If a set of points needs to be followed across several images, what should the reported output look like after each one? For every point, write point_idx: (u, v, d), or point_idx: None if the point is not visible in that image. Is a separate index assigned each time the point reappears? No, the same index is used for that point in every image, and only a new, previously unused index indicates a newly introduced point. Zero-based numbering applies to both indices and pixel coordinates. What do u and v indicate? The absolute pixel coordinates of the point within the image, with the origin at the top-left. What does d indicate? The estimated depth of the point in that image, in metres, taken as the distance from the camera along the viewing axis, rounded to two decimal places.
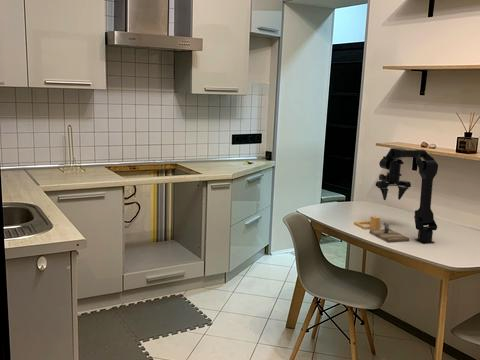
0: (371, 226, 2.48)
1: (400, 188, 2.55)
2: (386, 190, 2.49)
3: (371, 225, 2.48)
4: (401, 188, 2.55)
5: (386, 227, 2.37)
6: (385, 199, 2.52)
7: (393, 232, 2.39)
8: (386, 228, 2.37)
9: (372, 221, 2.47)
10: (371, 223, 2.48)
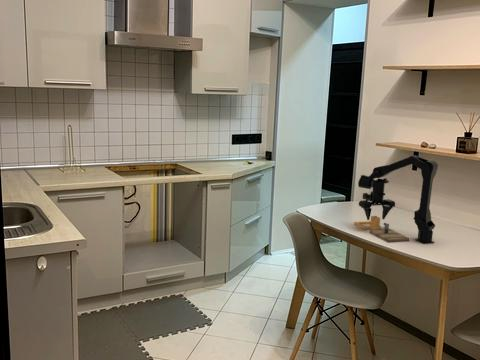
0: (371, 226, 2.48)
1: (384, 207, 2.47)
2: (369, 210, 2.41)
3: (371, 225, 2.48)
4: (385, 207, 2.47)
5: (386, 227, 2.37)
6: (368, 219, 2.44)
7: (393, 232, 2.39)
8: (386, 228, 2.37)
9: (372, 221, 2.47)
10: (371, 223, 2.48)
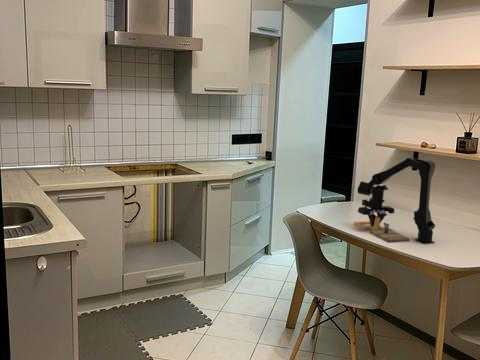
0: (371, 226, 2.48)
1: (379, 214, 2.47)
2: (373, 216, 2.43)
3: None
4: (379, 214, 2.46)
5: (386, 227, 2.37)
6: (372, 225, 2.46)
7: (393, 232, 2.39)
8: (386, 228, 2.37)
9: None
10: None
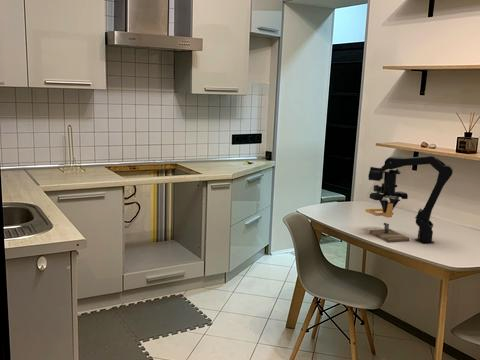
0: (383, 212, 2.37)
1: (391, 200, 2.37)
2: (386, 202, 2.33)
3: None
4: (392, 200, 2.36)
5: (386, 227, 2.37)
6: (385, 212, 2.36)
7: (393, 232, 2.39)
8: (386, 228, 2.37)
9: None
10: None
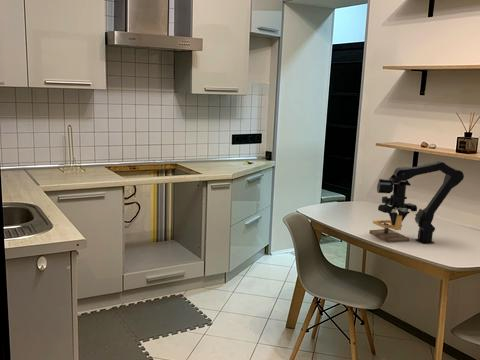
0: (392, 225, 2.31)
1: (400, 212, 2.30)
2: (395, 215, 2.26)
3: None
4: (401, 212, 2.30)
5: None
6: (394, 224, 2.29)
7: (393, 232, 2.39)
8: (386, 228, 2.37)
9: None
10: None
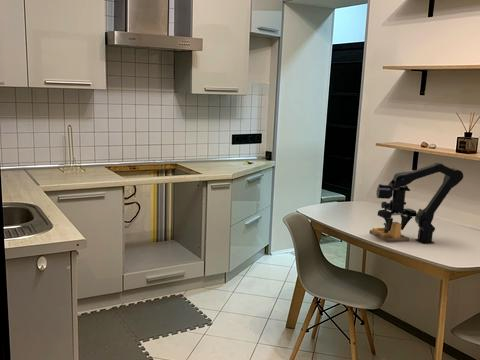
0: (391, 233, 2.31)
1: (403, 217, 2.31)
2: (391, 220, 2.26)
3: (391, 232, 2.31)
4: (404, 217, 2.31)
5: (386, 227, 2.37)
6: None
7: None
8: (386, 228, 2.37)
9: (392, 227, 2.30)
10: (391, 229, 2.31)
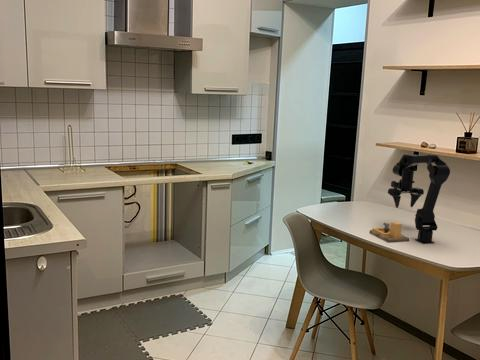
0: (391, 233, 2.31)
1: (413, 195, 2.49)
2: (399, 198, 2.42)
3: (391, 232, 2.31)
4: (414, 195, 2.48)
5: (386, 227, 2.37)
6: (397, 207, 2.46)
7: None
8: (386, 228, 2.37)
9: (392, 227, 2.30)
10: (391, 229, 2.31)
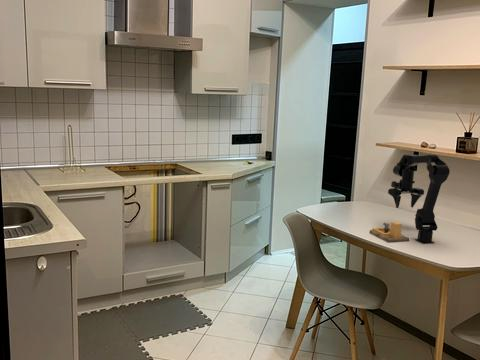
0: (391, 233, 2.31)
1: (413, 195, 2.49)
2: (399, 198, 2.43)
3: (391, 232, 2.31)
4: (414, 196, 2.48)
5: (386, 227, 2.37)
6: None
7: None
8: (386, 228, 2.37)
9: (392, 227, 2.30)
10: (391, 229, 2.31)
